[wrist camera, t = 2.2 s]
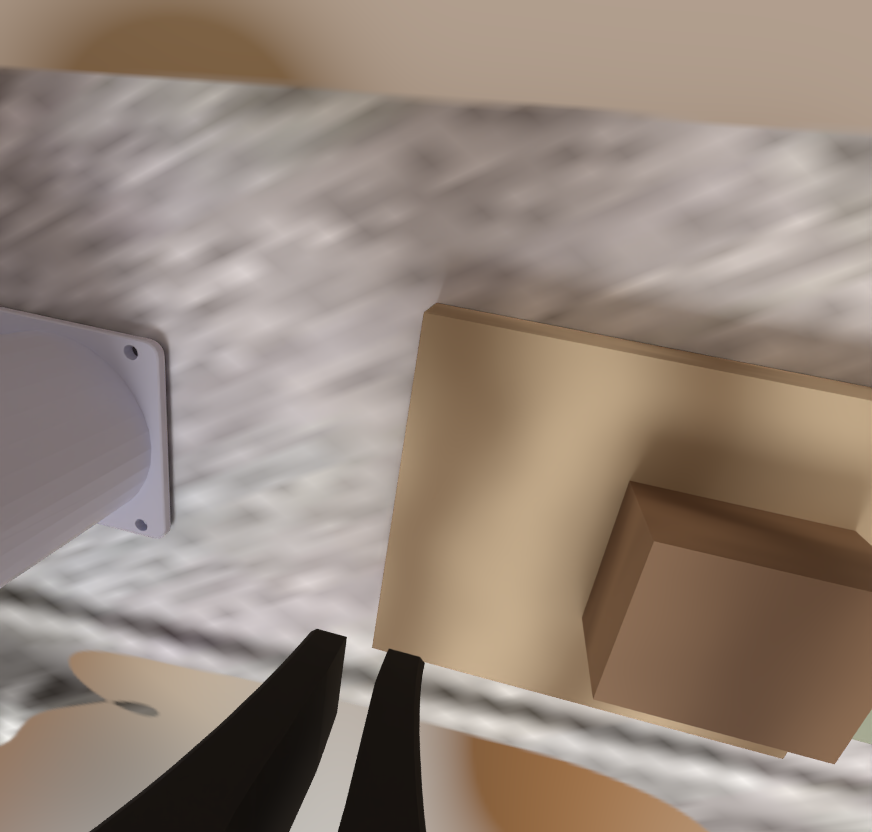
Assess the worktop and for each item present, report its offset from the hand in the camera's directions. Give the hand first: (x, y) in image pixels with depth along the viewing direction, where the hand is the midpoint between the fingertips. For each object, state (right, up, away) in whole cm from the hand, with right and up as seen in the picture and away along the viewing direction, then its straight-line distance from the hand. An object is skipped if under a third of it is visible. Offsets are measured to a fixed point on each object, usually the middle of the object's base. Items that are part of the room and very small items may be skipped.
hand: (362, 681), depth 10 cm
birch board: (+7, +2, +7) cm, 10 cm away
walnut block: (+9, 0, +5) cm, 11 cm away
